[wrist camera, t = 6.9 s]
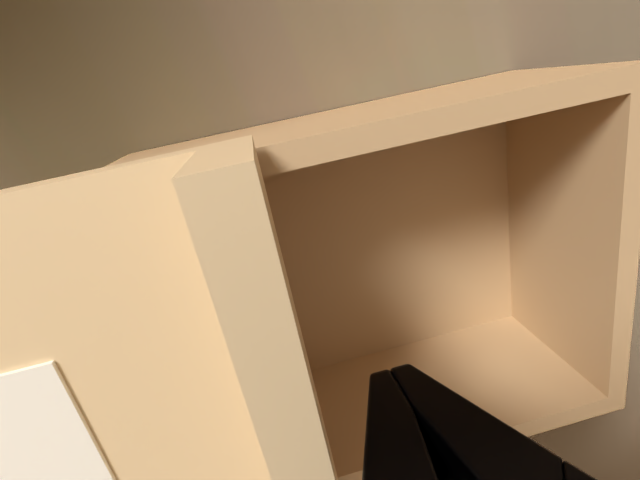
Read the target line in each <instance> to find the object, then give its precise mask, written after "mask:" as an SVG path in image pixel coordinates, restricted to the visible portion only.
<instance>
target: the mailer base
mask: <svg viewBox="0 0 640 480" xmlns="http://www.w3.org/2000/svg"><path fill="white" fill-rule="evenodd" d="M248 135H252V137H253V141H254V145H255V149H256V153H257V157H258V161H259V165H260V169H261V173H262V177H263V181H264V185H265V189H266V193H267V197H268V201H269V205H270V209H271V213H272V217H273V221H274V225H275V229H276V233H277V237H278V241H279V245H280V249H281V253H282V257H283V261H284V265H285V269H286V273H287V277H288V281H289V285H290V289H291V293H292V297H293V301H294V305H295V309H296V313H297V317H298V321H299V325H300V329H301V333H302V337H303V341H304V345H305V349H306V353H307V357H308V361H309V365H310V369H311V373H312V377H313V381H314V385H315V389H316V393H317V397H318V401H319V405H320V409H321V413H322V417H323V421H324V425H325V429H326V433H327V437H328V441H329V445H330V449H331V453H332V457H333V461H334V465H335V469H336V473H337V477H338V480H362V473H363V459H364V446H365V432H366V419H367V406H368V392H369V379H370V375H371V374H372V373H374V372H378V371H382V370H385V369H387V370H391V368H393V367H396V366H400V365H404V364H411V365H413V366H414V367H416V368H417V369H419V370H421V371H422V372H424V373H425V374H427V375H429V376H430V377H432V378H433V379H435V380H437V381H438V382H440V383H442V384H443V385H445V386H446V387H448V388H450V389H451V390H453V391H454V392H456V393H458V394H459V395H461V396H462V397H464V398H466V399H467V400H469V401H470V402H472V403H474V404H475V405H477V406H479V407H480V408H482V409H483V410H485V411H487V412H488V413H490V414H491V415H493V416H495V417H496V418H498V419H499V420H501V421H503V422H504V423H506V424H507V425H509V426H511V427H512V428H514V429H516V430H517V431H519V432H520V433H522V434H524V435H525V436H527V437H529V436H532V435H536V434H539V433H542V432H546V431H549V430H552V429H556V428H559V427H563V426H566V425H569V424H573V423H576V422H579V421H583V420H586V419H589V418H593V417H596V416H600V415H603V414H606V413H610V412H613V411H616V410H620V409H623V408H625V400H626V390H627V379H628V369H629V358H630V348H631V337H632V327H633V316H634V306H635V295H636V285H637V274H638V264H639V253H640V60H638V61H626V62H613V63H601V64H588V65H576V66H563V67H551V68H538V69H526V70H513V71H507V72H502V73H498V74H493V75H489V76H484V77H479V78H475V79H470V80H466V81H461V82H456V83H452V84H447V85H443V86H438V87H433V88H429V89H424V90H420V91H415V92H410V93H406V94H401V95H397V96H392V97H387V98H383V99H378V100H374V101H369V102H364V103H360V104H355V105H351V106H346V107H341V108H337V109H332V110H328V111H323V112H319V113H314V114H309V115H305V116H300V117H296V118H291V119H286V120H282V121H277V122H273V123H268V124H263V125H259V126H254V127H250V128H245V129H240V130H236V131H231V132H227V133H222V134H217V135H213V136H208V137H204V138H199V139H194V140H190V141H185V142H181V143H176V144H171V145H167V146H162V147H158V148H153V149H148V150H144V151H139V152H135V153H130V154H128V155H126V156H124V157H122V158H120V159H118V160H116V161H114V162H112V163H110V164H109V165H107V166H111V165H116V164H121V163H125V162H130V161H134V160H139V159H143V158H148V157H153V156H157V155H162V154H166V153H171V152H175V151H180V150H185V149H189V148H194V147H198V146H203V145H207V144H212V143H216V142H221V141H226V140H230V139H235V138H239V137H244V136H248ZM107 166H105V167H107Z"/></svg>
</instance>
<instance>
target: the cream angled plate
mask: <svg viewBox="0 0 640 480" xmlns="http://www.w3.org/2000/svg"><path fill="white" fill-rule="evenodd" d="M0 480H338V477H337V473H336V469H335V465H334V461H333V457H332V453H331V449H330V445H329V441H328V437H327V433H326V429H325V425H324V421H323V417H322V413H321V409H320V405H319V401H318V397H317V393H316V389H315V385H314V381H313V377H312V373H311V369H310V365H309V361H308V357H307V353H306V349H305V345H304V341H303V337H302V333H301V329H300V325H299V321H298V317H297V313H296V309H295V305H294V301H293V297H292V293H291V289H290V285H289V281H288V277H287V273H286V269H285V265H284V261H283V257H282V253H281V249H280V245H279V241H278V237H277V233H276V229H275V225H274V221H273V217H272V213H271V209H270V205H269V201H268V197H267V193H266V189H265V185H264V181H263V177H262V173H261V169H260V165H259V161H258V157H257V153H256V149H255V145H254V141H253V137H252V135H248V136H244V137H239V138H235V139H230V140H226V141H221V142H216V143H212V144H207V145H203V146H198V147H194V148H189V149H185V150H180V151H175V152H171V153H166V154H162V155H157V156H153V157H148V158H143V159H139V160H134V161H130V162H125V163H121V164H116V165H111V166H107V167H102V168H98V169H93V170H89V171H84V172H80V173H75V174H70V175H66V176H61V177H57V178H52V179H48V180H43V181H38V182H34V183H29V184H25V185H20V186H16V187H11V188H6V189H2V190H0Z"/></svg>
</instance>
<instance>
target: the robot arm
mask: <svg viewBox="0 0 640 480" xmlns="http://www.w3.org/2000/svg"><path fill="white" fill-rule="evenodd" d="M362 480H597V479H595V478H593V477H592V476H590V475H588V474H587V473H585V472H583V471H582V470H580V469H579V468H577V467H575V466H574V465H572V464H571V463H569V462H567V461H564V462H562V459H561V458H560V457H559V456H557V455H556V454H554V453H553V452H551V451H549V450H548V449H546V448H544V447H543V446H541V445H540V444H538V443H536V442H535V441H533V440H532V439H530V438H528V437H527V436H525V435H524V434H522V433H520V432H519V431H517V430H516V429H514V428H512V427H511V426H509V425H507V424H506V423H504V422H503V421H501V420H499V419H498V418H496V417H495V416H493V415H491V414H490V413H488V412H487V411H485V410H483V409H482V408H480V407H479V406H477V405H475V404H474V403H472V402H470V401H469V400H467V399H466V398H464V397H462V396H461V395H459V394H458V393H456V392H454V391H453V390H451V389H450V388H448V387H446V386H445V385H443V384H442V383H440V382H438V381H437V380H435V379H433V378H432V377H430V376H429V375H427V374H425V373H424V372H422V371H421V370H419V369H417V368H416V367H414V366H413V365H411V364H404V365H400V366H396V367H393V368H391V370H387V369H385V370H382V371H378V372H374V373H372V374H371V375H370V379H369V392H368V406H367V419H366V432H365V446H364V459H363V473H362Z"/></svg>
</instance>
